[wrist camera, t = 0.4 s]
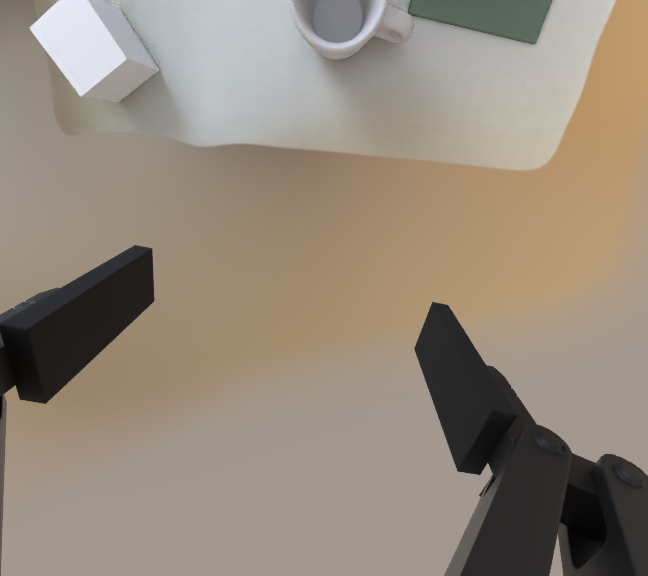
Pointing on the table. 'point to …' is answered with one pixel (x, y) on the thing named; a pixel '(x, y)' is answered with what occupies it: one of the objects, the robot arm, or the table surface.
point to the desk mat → (488, 15)
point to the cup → (348, 24)
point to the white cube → (95, 48)
